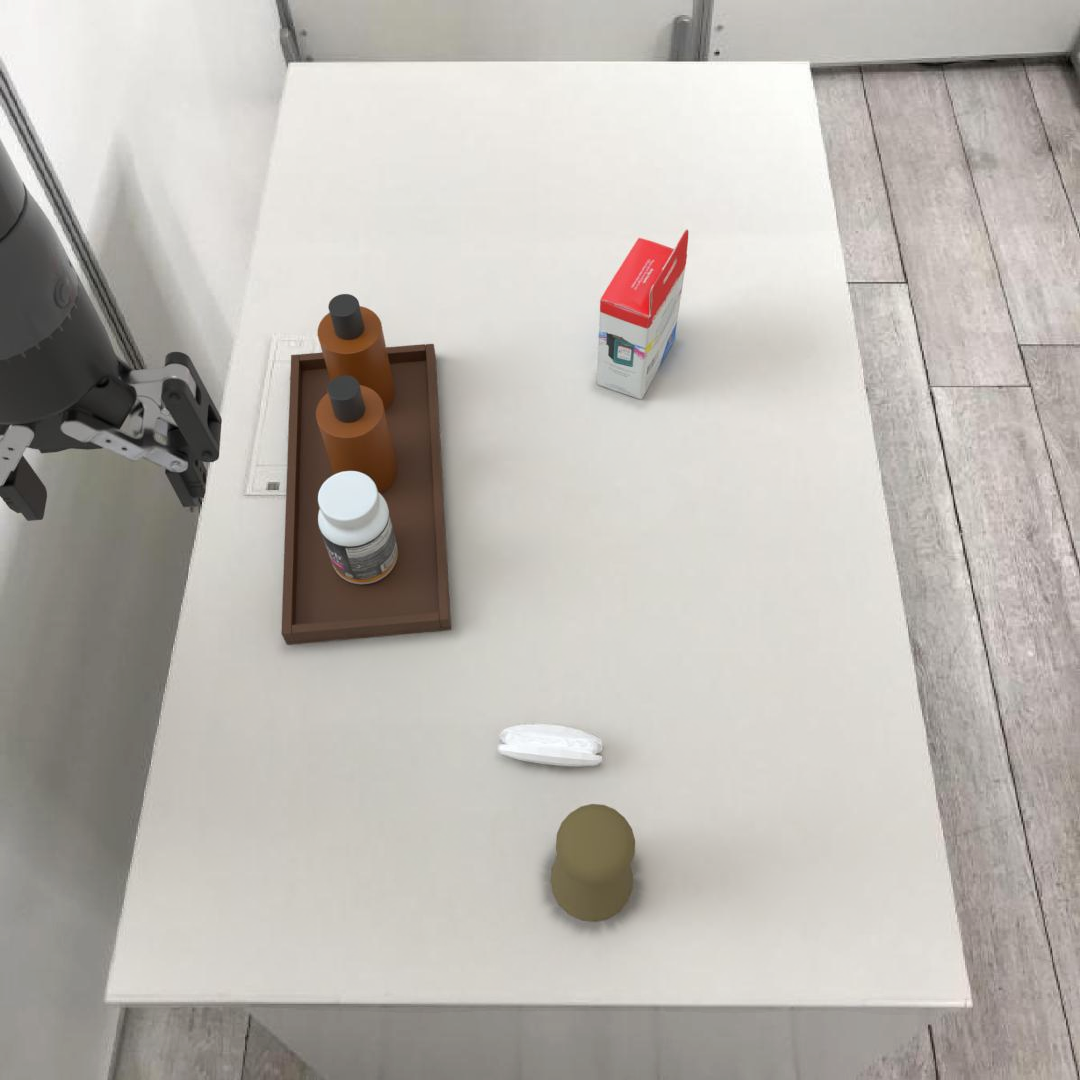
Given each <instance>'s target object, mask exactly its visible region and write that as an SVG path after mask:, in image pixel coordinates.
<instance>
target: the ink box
mask: <svg viewBox="0 0 1080 1080" xmlns="http://www.w3.org/2000/svg"><path fill="white" fill-rule="evenodd" d="M688 244H689V229H687V228H686V229H684V232H683V234H682V235H681V237H680V239H679V241H678V242H677V244H676V245H675V246H674V248H672V247H671V246H667V245H664V244H661V243H658V242H655V241H652V240H649V239H645V238H642V237H638V238H637V240H636V241H635V242H634V245H633V246H632V247H631V249H630V251H629V252H628V254H627V255H626V257H625V259H624V260H623V262H622V263H621V265H620V266H619V268H618V270H617V271H616V273H615V275H614V276H613V277H612V280H611V281H610V282H609V284H608V286H607V287H606V289H605V290H604V292H603V294H602V295H601V297H600V299H599V302H600V303H599V323H598V326H599V327H598V347H597V365H596V366H597V367H596V385H598V386H601V387H603V388H607V389H609V390H612V391H614V392H618V393H621V394H624V395H627V396H630V397H632V398H635V399H638V400H643V398H644V396H645V394H646V393H647V391H648V388H649V387H650V386H651V383H652V382H653V380H654V378H655V376H656V374H657V373H658V370H659V369H660V367H661V365H662V363H663V362H664V360H665V358H666V356H667V355H668V353H669V351H670V349H671V347H672V346H673V343H674V342H675V338H676V332H677V326H678V318H679V312H680V305H681V299H682V292H683V285H684V280H685V279H684V278H685V272H686V265H687V259H688V246H689V245H688Z"/></svg>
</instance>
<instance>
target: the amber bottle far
mask: <svg viewBox="0 0 1080 1080" xmlns="http://www.w3.org/2000/svg"><path fill="white" fill-rule="evenodd" d="M317 338H318V341H319V346H320V348H321V353H323V356H324V360H325V363H326V367H327V370H328V374H329V377H330V381H332V380H333V379H334V378H336V377H338V376H343V375H347V376H352V377H354V378H355V379H356V380H357V381H358V382H359V385H362V386H366V387H368V388H370V389H372V390H373V391H375V392H376V393H377V394H378V395H379V396H380V398H381V400H382V402H383V406H384V410H386V409H387V408H388V407H389V406H390V404H391V403H392V401H393V399H394V396H395V388H394V383H393V378H392V373H391V368H390V363H389V359H388V354H387V349H386V347H387V344H386V340H385V334H384V330H383V325H382V321H381V319H380V317H379V316H378V315H377V313H376V312H375V311H373V310H371V309H369V308H367V307H365V306H361V305H360V302H359V299H358V298H357V297H356V296H354V295H353V294H349V293H341V294H337V295H336V296H334V297H332V298H331V299H330V301H329V302H328V313H327V314H326V315H324V316H323V317H322V318H321V320H320V322H319V323H318V327H317Z"/></svg>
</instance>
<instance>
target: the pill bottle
mask: <svg viewBox="0 0 1080 1080" xmlns="http://www.w3.org/2000/svg"><path fill="white" fill-rule="evenodd" d="M318 503H319V507H320V510H319V514H318V524H319V528H320V531H321V534H322V536H323V539H324V542H325V545H326V548H327V550H328V553H329V556H330V559H331V562H332V564H333V567H334V569H335V570H336V572H337V573H338V574H339V576H340V577H342V578H343V579H345V580H346V581H348V582H351V583H355V584H370V583H374V582H377V581H379V580H381V579H382V578H384V577H385V576H387V575H388V574H389V573H390V571H391V570H392V569H393V567H394V566H395V564H396V561H397V556H398V548H397V542H396V538H395V535H394V531H393V526H392V521H391V517H390V513H389V509H388V506H387V503H386V501H385V499H384V498H383V496H382V495H381V494H380V493H379V492H378V490H377V487H376V485H375V483H374V482H373V480H372V479H371V478H370V477H368V476H367V475H365V474H363V473H361V472H357V471H344V472H340V473H337V474H335V475H333V476H331V477H330V478H328V479H327V480H326V481H325V482H324V483H323V485H322V486H321V488H320V490H319V494H318Z"/></svg>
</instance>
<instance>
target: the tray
mask: <svg viewBox="0 0 1080 1080" xmlns="http://www.w3.org/2000/svg"><path fill="white" fill-rule="evenodd" d="M386 349H387V354H388V359H389V363H390V368H391V373H392V378H393V383H394V388H395V396H394V399H393V401H392V403H391V404H390V406H389V407H388V408H387V409H386V410H384V411H385V415H386V419H387V424H388V428H389V433H390V437H391V442H392V446H393V451H394V455H395V459H396V464H397V476H396V478H395V481H394V482H393V484H392V485H391V486H390V487H389V488H388V489H387V490H386V491H385V492H383V493H381V495H382V496H383V498H384V499H385V501H386V503H387V506H388V509H389V513H390V517H391V521H392V526H393V531H394V535H395V538H396V542H397V548H398V556H397V561H396V564H395V566H394V567H393V569H392V570H391V571H390V573H389V574H388V575H387V576H385V577H384V578H382V579H381V580H379V581H377V582H374V583H370V584H355V583H351V582H348V581H346V580H345V579H343V578H342V577H340V576H339V574H338V573H337V572H336V570H335V569H334V567H333V564H332V562H331V559H330V556H329V553H328V550H327V548H326V545H325V542H324V539H323V536H322V534H321V531H320V528H319V524H318V514H319V510H320V507H319V503H318V494H319V490H320V488H321V486H322V485H323V483H324V482H325V481H326V480H327V479H328V478H330V477H331V476H333V475H334V473H333V470H332V466H331V463H330V460H329V457H328V454H327V451H326V448H325V444H324V441H323V438H322V435H321V432H320V429H319V426H318V422H317V419H316V410H317V406H318V404H319V402H320V400H321V399H322V398H323V397H324V396H325V395H326V394H327V393H328V390H327V389H328V385H329V383H330V382H331V381H330V377H329V374H328V370H327V367H326V363H325V360H324V356H323V353H322V352H311V353H310V352H309V353H300V354H299V353H297V354H291V355H290V377H289V405H288V406H289V407H288V432H287V433H288V435H287V464H286V490H285V492H286V494H285V516H284V517H285V521H284V522H285V523H284V549H283V550H284V552H283V577H282V578H283V579H282V604H281V605H282V606H281V632H280V633H281V636H282V639H283V640H284V642H285V644H286V645H297V644H307V643H321V642H330V641H340V640H341V641H342V640H352V639H354V640H355V639H364V638H375V637H385V636H387V637H388V636H397V635H406V634H418V633H419V634H420V633H429V632H439V631H451V630H452V621H451V618H452V617H451V601H450V584H449V583H450V581H449V565H448V550H447V549H448V547H447V531H446V529H447V528H446V515H445V514H446V512H445V498H444V497H445V494H444V478H443V477H444V476H443V461H442V460H443V459H442V444H441V443H442V442H441V440H442V439H441V426H440V423H441V422H440V408H439V407H440V406H439V390H438V388H439V387H438V372H437V371H438V369H437V355H436V349H435V344H434V343H424V344H410V345H398V346H386Z"/></svg>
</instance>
